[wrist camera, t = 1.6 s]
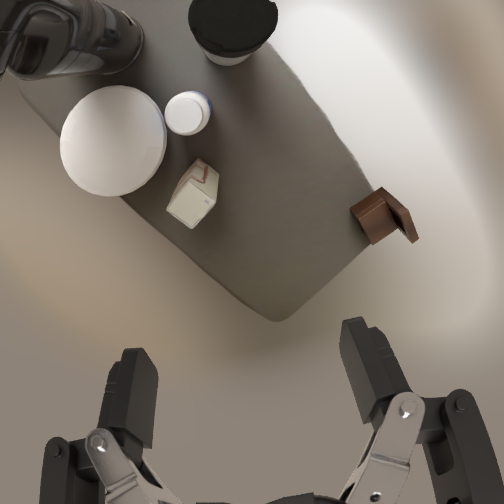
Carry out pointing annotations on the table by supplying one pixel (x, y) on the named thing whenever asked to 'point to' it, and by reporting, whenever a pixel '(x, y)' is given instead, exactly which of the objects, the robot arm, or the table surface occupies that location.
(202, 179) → the cream cosmetic box
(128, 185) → the white domed disc
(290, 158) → the table surface
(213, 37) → the spray can
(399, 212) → the miniature wooden chair
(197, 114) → the pill bottle
